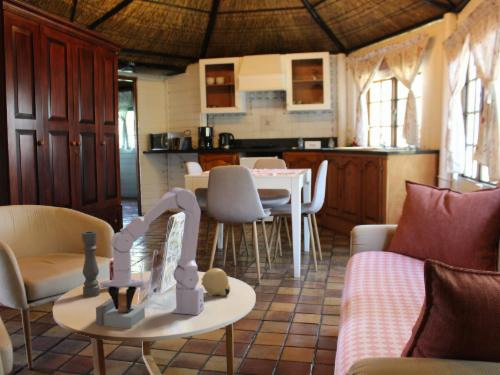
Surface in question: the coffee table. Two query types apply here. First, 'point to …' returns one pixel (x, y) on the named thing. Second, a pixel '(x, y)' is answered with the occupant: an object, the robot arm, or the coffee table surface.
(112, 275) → the soda can
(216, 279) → the toy pig
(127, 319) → the socket block
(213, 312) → the coffee table surface
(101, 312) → the charcoal wall
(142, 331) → the coffee table surface
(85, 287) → the candle holder
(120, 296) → the dowel
